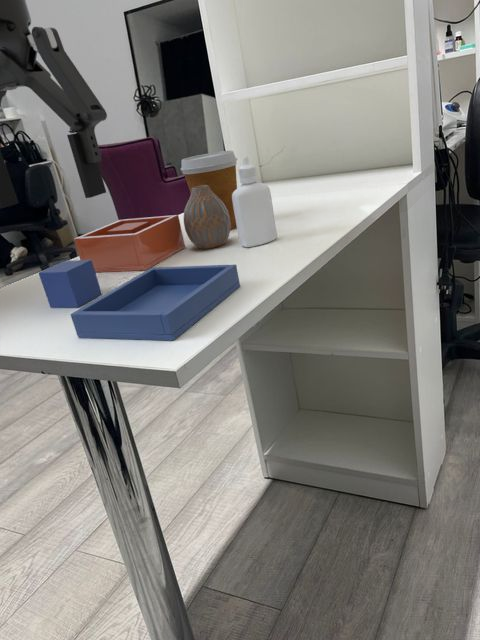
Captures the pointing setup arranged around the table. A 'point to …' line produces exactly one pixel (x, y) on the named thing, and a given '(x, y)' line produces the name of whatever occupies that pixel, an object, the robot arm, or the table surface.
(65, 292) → the blue block
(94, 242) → the terracotta bin
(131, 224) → the rust block
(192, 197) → the vase
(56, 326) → the table surface
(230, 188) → the disposable coffee cup
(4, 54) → the robot arm
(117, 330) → the blue tray
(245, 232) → the eye dropper bottle
